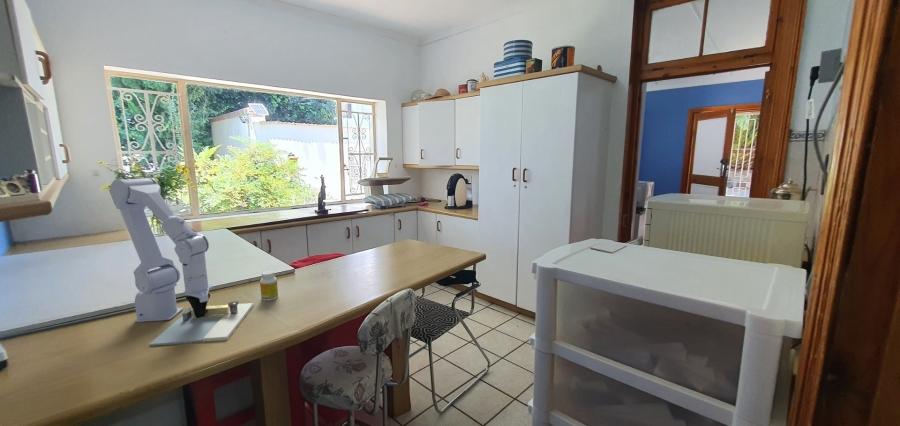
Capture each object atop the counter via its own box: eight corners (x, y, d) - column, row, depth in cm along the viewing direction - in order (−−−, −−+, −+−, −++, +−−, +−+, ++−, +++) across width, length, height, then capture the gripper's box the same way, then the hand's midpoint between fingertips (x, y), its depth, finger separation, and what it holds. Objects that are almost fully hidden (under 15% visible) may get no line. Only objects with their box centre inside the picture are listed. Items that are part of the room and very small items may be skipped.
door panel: (149, 346, 93) (149, 342, 93) (191, 309, 114) (190, 306, 114) (227, 339, 97) (227, 336, 97) (253, 305, 118) (253, 303, 118)
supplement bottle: (271, 301, 122) (269, 275, 120) (257, 300, 123) (255, 274, 121) (281, 295, 127) (279, 270, 125) (268, 294, 128) (266, 269, 126)
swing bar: (230, 310, 111) (229, 302, 111) (227, 313, 109) (226, 305, 109) (195, 313, 109) (194, 304, 109) (191, 316, 107) (190, 307, 107)
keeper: (183, 321, 106) (182, 313, 105) (192, 312, 111) (191, 305, 111) (204, 319, 107) (203, 312, 107) (213, 311, 113) (212, 304, 112)
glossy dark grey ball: (227, 318, 109) (226, 305, 109) (231, 314, 112) (230, 301, 111) (237, 317, 110) (236, 304, 109) (240, 313, 113) (239, 301, 112)
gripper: (218, 277, 102) (222, 319, 105) (204, 266, 112) (208, 305, 114) (189, 284, 97) (195, 328, 99) (177, 272, 106) (182, 312, 109)
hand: (200, 316), depth 106 cm, fingers closed
